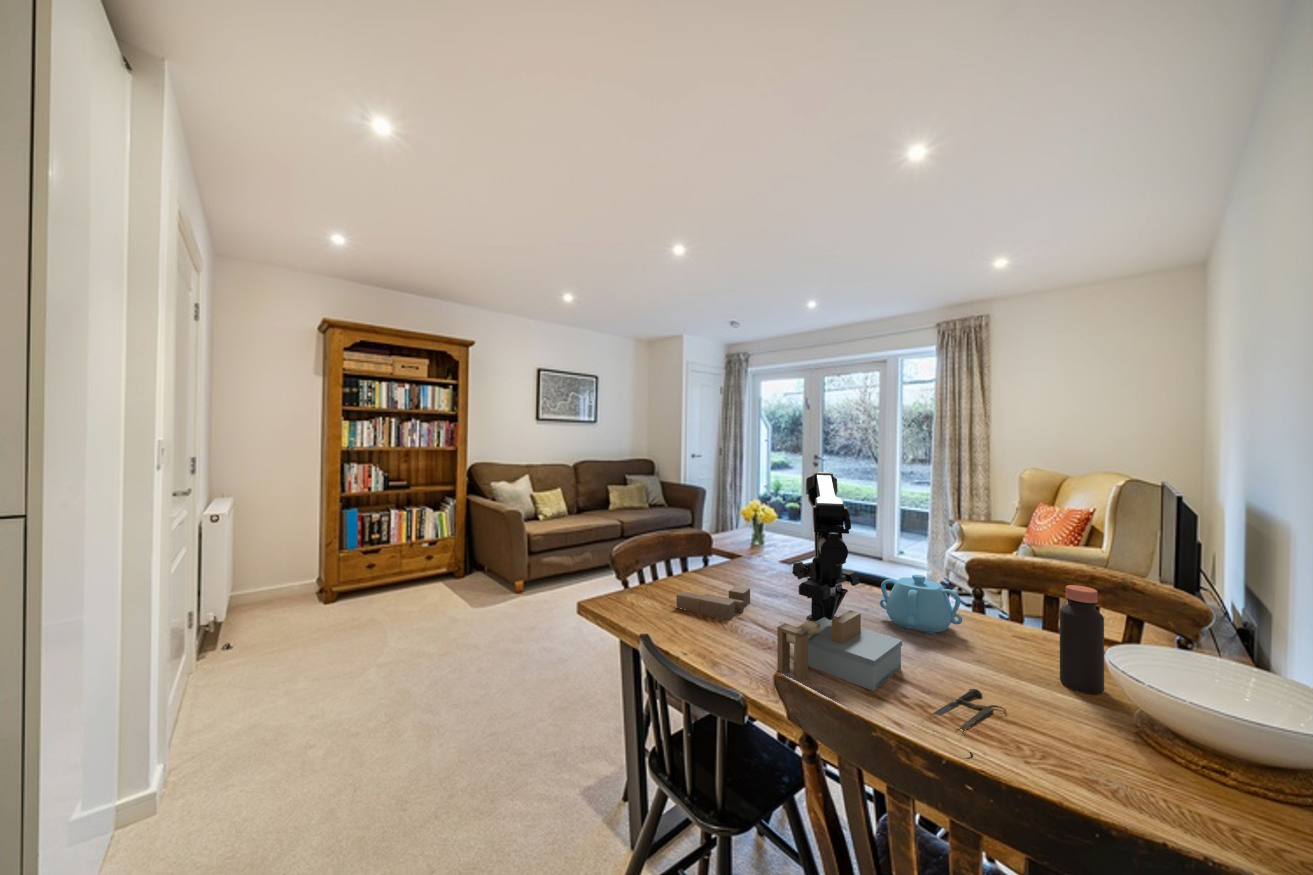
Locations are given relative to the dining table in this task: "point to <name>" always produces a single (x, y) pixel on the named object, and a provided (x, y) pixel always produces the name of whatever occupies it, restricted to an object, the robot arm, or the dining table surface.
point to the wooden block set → (716, 603)
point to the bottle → (1082, 641)
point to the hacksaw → (964, 700)
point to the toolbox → (831, 661)
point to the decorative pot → (920, 604)
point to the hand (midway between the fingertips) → (829, 619)
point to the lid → (853, 639)
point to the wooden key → (810, 626)
